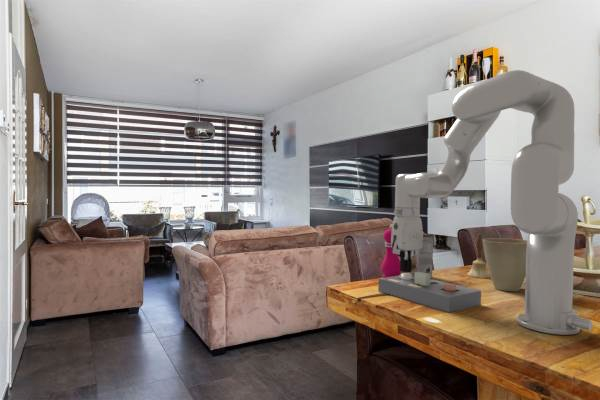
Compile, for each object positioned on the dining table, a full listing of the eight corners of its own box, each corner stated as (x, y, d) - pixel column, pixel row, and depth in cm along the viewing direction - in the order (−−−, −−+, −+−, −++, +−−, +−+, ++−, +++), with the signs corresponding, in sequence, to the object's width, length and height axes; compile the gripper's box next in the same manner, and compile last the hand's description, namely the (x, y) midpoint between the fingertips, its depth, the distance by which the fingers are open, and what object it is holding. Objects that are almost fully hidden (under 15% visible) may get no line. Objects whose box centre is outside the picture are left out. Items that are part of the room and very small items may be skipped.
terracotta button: (458, 292, 112) (458, 285, 112) (451, 294, 110) (451, 286, 110) (448, 290, 115) (448, 282, 115) (441, 291, 113) (441, 284, 113)
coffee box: (404, 274, 153) (404, 232, 153) (418, 273, 155) (419, 231, 155) (417, 279, 144) (418, 234, 144) (433, 278, 146) (434, 234, 146)
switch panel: (480, 304, 112) (481, 289, 112) (448, 312, 105) (449, 296, 104) (409, 286, 134) (409, 273, 134) (378, 291, 126) (378, 277, 126)
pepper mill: (402, 283, 138) (403, 225, 137) (381, 282, 139) (381, 224, 139) (401, 278, 145) (402, 223, 144) (381, 277, 146) (381, 223, 146)
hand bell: (495, 278, 148) (496, 235, 147) (472, 278, 148) (473, 235, 147) (484, 273, 156) (485, 232, 156) (463, 273, 156) (464, 232, 156)
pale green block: (429, 295, 117) (430, 274, 117) (425, 296, 116) (425, 274, 116) (418, 292, 120) (419, 271, 120) (414, 293, 119) (414, 272, 119)
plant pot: (530, 286, 135) (531, 239, 135) (535, 296, 122) (536, 244, 121) (481, 281, 141) (482, 236, 141) (481, 291, 128) (482, 241, 128)
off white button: (413, 281, 125) (413, 274, 125) (406, 282, 124) (406, 275, 124) (405, 279, 128) (405, 273, 128) (398, 280, 126) (398, 274, 126)
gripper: (399, 214, 118) (397, 276, 119) (432, 213, 126) (431, 271, 127) (381, 213, 125) (379, 271, 125) (414, 212, 133) (412, 267, 133)
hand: (405, 271), depth 126 cm, fingers closed
